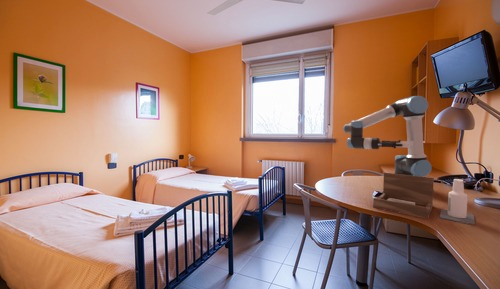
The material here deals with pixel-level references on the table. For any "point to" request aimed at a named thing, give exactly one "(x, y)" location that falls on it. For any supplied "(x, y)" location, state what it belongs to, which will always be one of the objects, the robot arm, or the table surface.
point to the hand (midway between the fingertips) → (411, 144)
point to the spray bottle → (457, 200)
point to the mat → (467, 220)
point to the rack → (406, 194)
